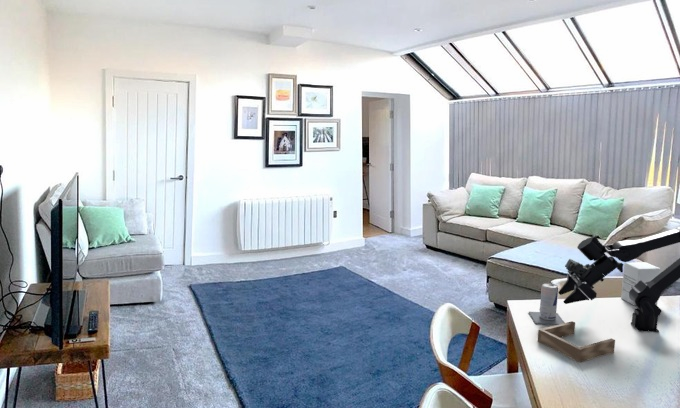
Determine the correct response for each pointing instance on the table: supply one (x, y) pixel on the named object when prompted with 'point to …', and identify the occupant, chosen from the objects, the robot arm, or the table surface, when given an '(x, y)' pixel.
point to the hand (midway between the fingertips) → (561, 298)
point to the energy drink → (548, 301)
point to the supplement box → (637, 276)
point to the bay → (579, 354)
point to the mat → (539, 320)
